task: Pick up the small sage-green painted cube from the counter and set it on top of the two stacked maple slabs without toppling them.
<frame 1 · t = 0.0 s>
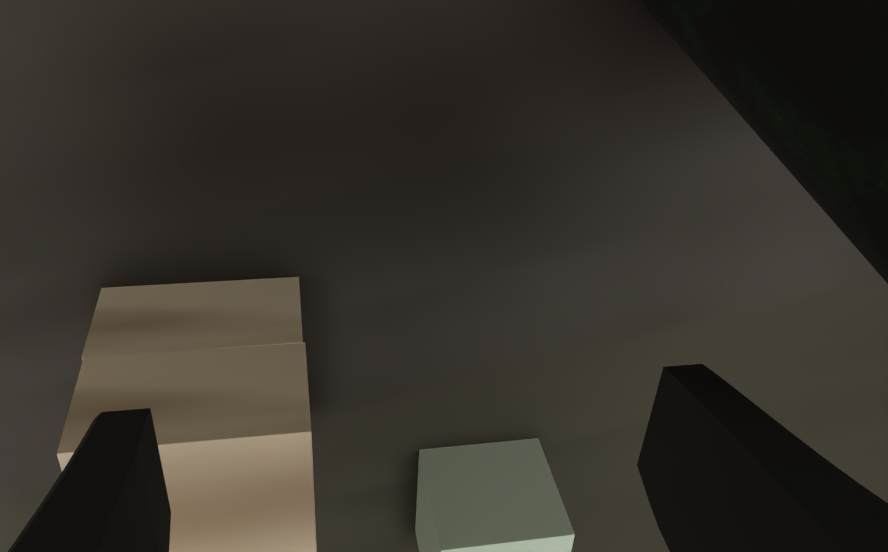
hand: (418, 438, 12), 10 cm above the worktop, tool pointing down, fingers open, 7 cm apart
upper slab: (208, 427, 20), point 3 cm above the worktop, touching lower slab
lower slab: (212, 351, 23), on the worktop, touching upper slab
green cube: (474, 483, 28), on the worktop
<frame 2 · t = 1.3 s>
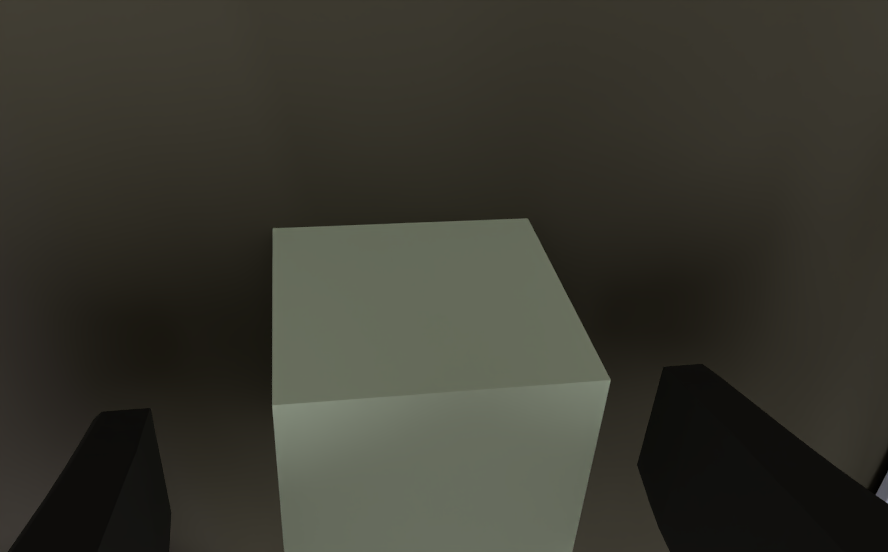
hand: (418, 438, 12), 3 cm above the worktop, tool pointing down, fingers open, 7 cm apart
green cube: (399, 322, 14), on the worktop
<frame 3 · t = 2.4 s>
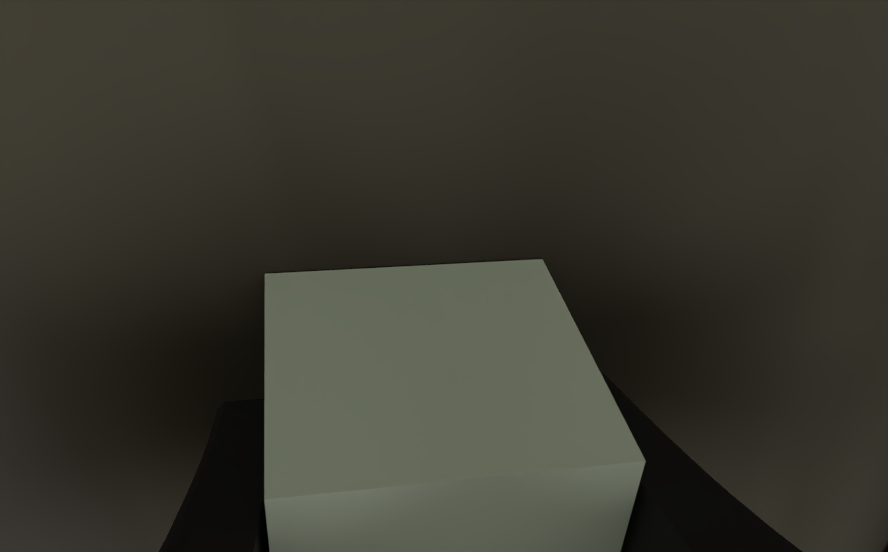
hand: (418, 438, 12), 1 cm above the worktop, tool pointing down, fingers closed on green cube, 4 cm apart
green cube: (403, 372, 13), on the worktop, touching gripper
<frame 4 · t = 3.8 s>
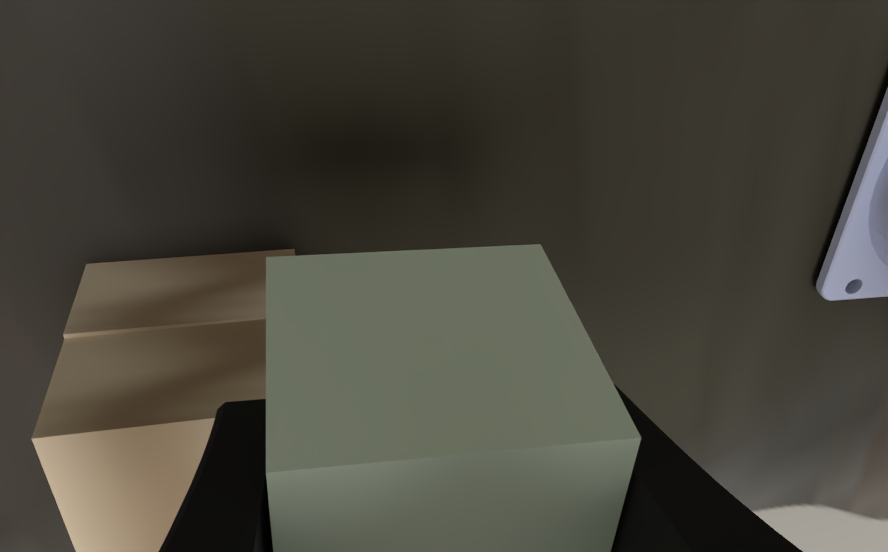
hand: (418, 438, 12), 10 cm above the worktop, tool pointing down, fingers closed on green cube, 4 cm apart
upper slab: (202, 409, 19), point 3 cm above the worktop, touching lower slab
lower slab: (207, 330, 22), on the worktop, touching upper slab
green cube: (403, 357, 13), point 8 cm above the worktop, touching gripper
when the fingers open (8 cm above the worktop, at t = 5.4 s): green cube stays where it is, resting on upper slab.
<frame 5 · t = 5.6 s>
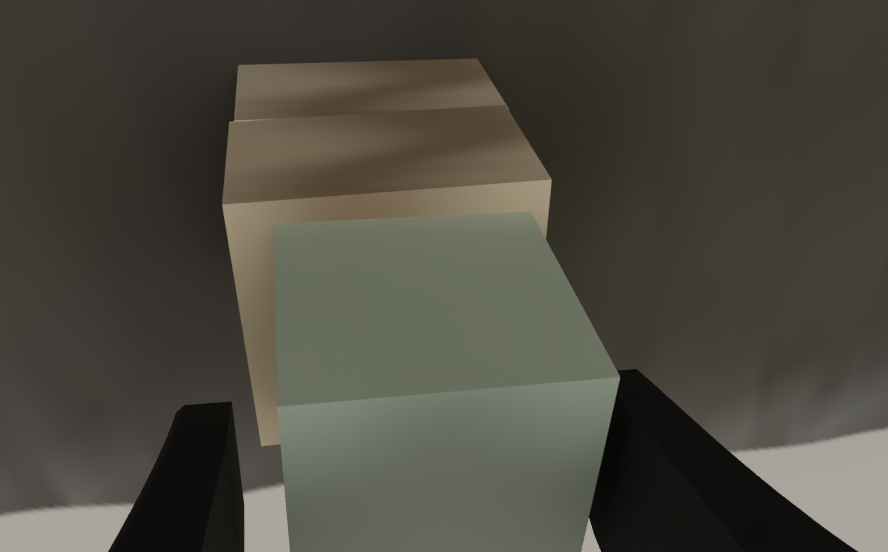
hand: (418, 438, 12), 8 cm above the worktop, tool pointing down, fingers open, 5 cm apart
upper slab: (375, 231, 16), point 3 cm above the worktop, touching green cube, lower slab
lower slab: (362, 165, 19), on the worktop, touching upper slab
green cube: (403, 320, 14), point 6 cm above the worktop, touching upper slab
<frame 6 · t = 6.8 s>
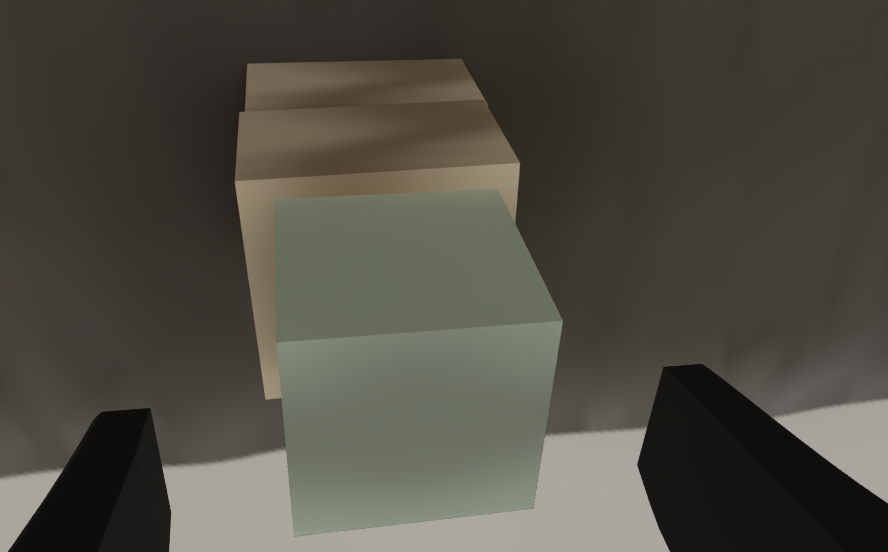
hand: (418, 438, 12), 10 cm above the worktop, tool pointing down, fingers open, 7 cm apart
upper slab: (368, 211, 18), point 3 cm above the worktop, touching lower slab
lower slab: (358, 156, 20), on the worktop, touching upper slab
green cube: (388, 286, 16), point 6 cm above the worktop
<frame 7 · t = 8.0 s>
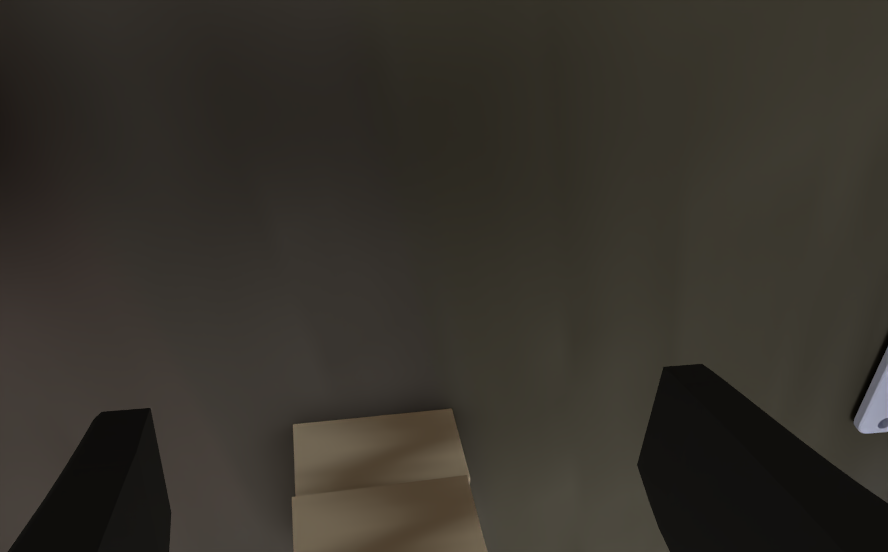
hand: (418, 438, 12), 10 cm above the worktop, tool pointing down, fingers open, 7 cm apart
upper slab: (382, 542, 24), point 3 cm above the worktop, touching green cube, lower slab
lower slab: (374, 468, 27), on the worktop, touching upper slab
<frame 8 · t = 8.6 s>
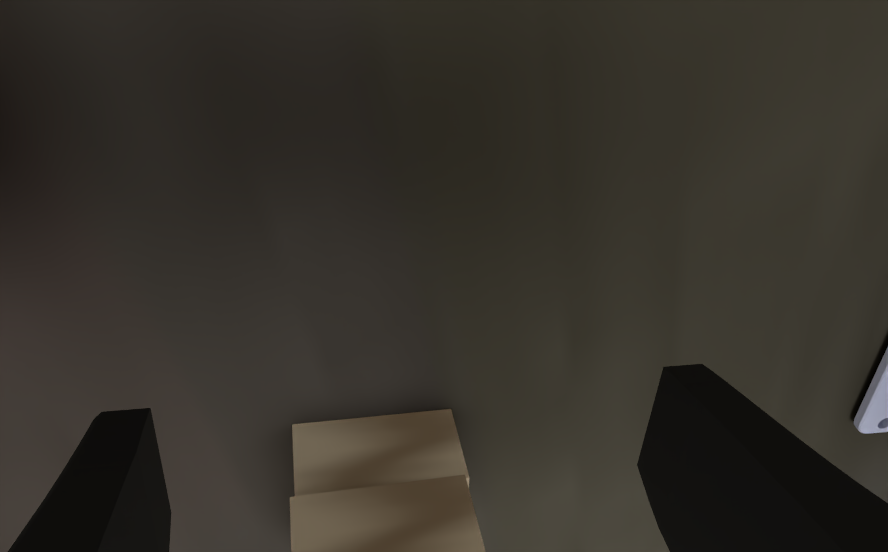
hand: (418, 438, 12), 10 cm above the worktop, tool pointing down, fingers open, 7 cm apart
upper slab: (381, 541, 24), point 3 cm above the worktop, touching green cube, lower slab
lower slab: (373, 469, 27), on the worktop, touching upper slab
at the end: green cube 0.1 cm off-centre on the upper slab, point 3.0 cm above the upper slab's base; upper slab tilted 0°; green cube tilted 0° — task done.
